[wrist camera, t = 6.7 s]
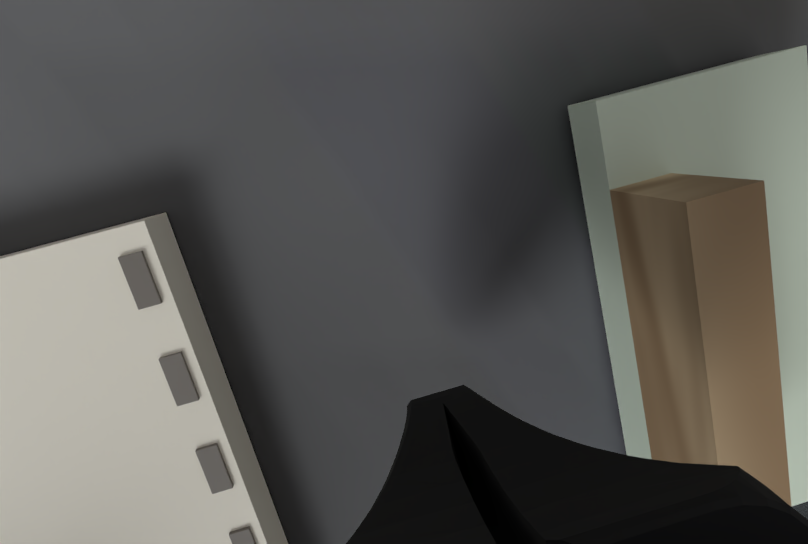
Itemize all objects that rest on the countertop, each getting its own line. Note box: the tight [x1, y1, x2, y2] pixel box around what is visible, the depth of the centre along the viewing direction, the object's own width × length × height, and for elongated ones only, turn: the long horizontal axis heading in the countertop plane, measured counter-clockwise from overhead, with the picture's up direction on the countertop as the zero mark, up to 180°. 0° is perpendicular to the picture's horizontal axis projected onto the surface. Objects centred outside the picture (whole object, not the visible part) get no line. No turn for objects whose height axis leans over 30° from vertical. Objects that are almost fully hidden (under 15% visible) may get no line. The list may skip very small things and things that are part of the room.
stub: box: [568, 45, 808, 506], centre depth 13 cm, size 5×12×4 cm, turn 14°
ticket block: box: [0, 212, 288, 544], centre depth 13 cm, size 8×12×2 cm, turn 14°
